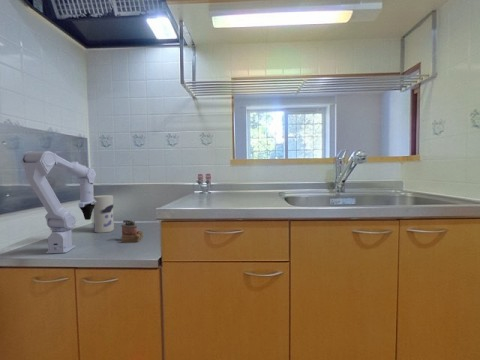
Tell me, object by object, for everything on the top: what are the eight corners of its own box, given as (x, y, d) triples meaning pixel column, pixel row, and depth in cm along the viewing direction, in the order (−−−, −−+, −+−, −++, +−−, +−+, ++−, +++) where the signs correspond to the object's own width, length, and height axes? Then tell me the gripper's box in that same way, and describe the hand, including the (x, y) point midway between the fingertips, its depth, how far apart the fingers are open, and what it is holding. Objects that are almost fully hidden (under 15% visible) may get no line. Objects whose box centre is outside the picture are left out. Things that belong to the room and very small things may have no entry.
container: (105, 233, 144) (104, 197, 143) (89, 232, 146) (89, 196, 145) (117, 229, 153) (117, 195, 152) (102, 228, 155) (102, 194, 154)
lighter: (138, 239, 132) (138, 219, 131) (135, 241, 128) (134, 221, 128) (124, 238, 133) (124, 219, 133) (120, 240, 130) (119, 220, 130)
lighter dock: (138, 242, 127) (138, 236, 127) (121, 242, 126) (121, 236, 125) (142, 236, 137) (142, 231, 137) (127, 237, 135) (127, 231, 135)
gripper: (89, 193, 122) (90, 222, 123) (100, 190, 136) (101, 216, 137) (73, 193, 121) (74, 222, 122) (86, 190, 135) (87, 216, 136)
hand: (87, 219), depth 129 cm, fingers closed
